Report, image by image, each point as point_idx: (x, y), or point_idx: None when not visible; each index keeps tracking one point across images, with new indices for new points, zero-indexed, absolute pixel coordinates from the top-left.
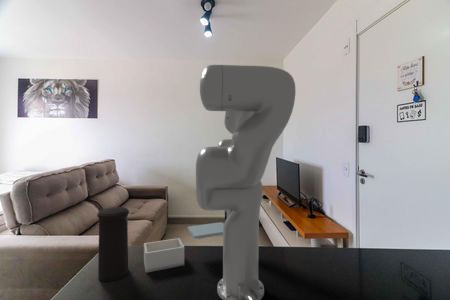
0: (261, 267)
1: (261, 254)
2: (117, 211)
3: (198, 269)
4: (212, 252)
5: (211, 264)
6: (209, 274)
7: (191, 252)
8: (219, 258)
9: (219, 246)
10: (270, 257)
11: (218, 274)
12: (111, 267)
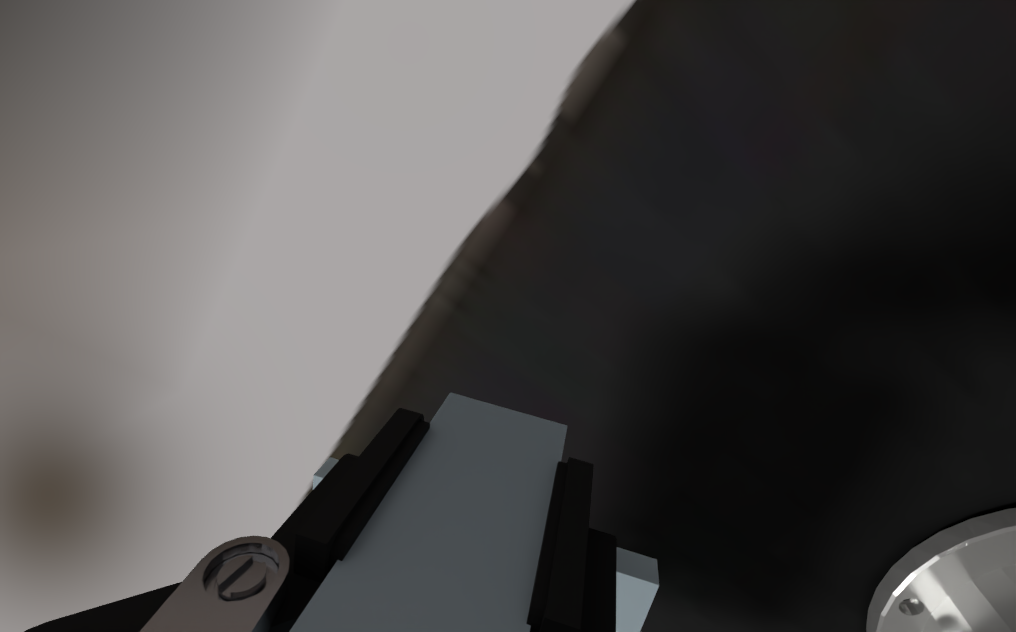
0: (967, 314)
1: (790, 126)
2: None
3: None
4: None
5: (629, 547)
6: (727, 623)
7: None
8: (592, 463)
9: (418, 342)
10: (915, 88)
11: (769, 592)
12: None
